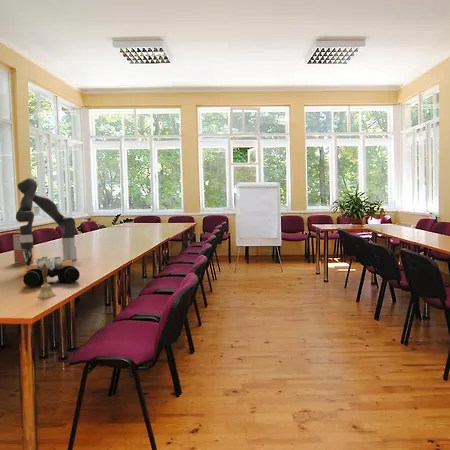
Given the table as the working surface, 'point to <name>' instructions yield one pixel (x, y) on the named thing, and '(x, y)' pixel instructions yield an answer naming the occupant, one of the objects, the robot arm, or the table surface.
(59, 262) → the knob
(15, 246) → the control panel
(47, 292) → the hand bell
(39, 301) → the table surface
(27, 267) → the knob
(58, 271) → the binoculars
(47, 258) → the levelling plate
